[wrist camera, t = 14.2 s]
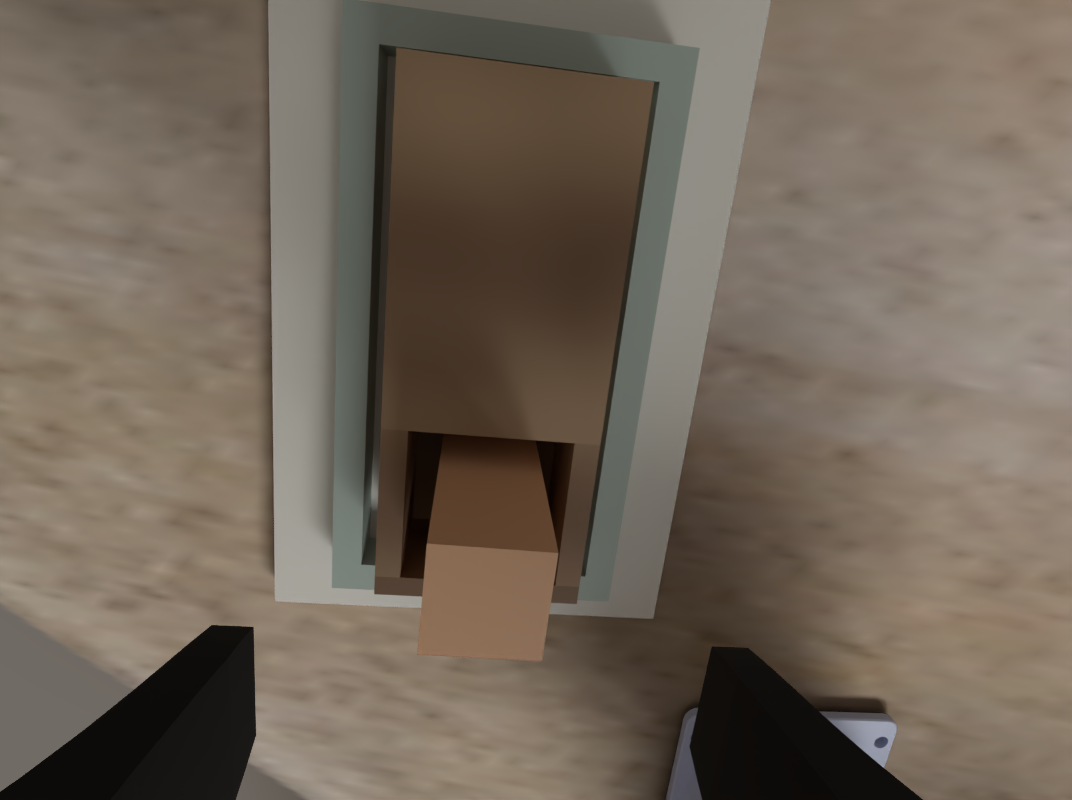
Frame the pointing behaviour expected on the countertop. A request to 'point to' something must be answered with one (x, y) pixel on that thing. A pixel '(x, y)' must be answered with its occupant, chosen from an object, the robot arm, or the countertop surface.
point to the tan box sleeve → (502, 283)
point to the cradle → (362, 257)
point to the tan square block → (488, 552)
